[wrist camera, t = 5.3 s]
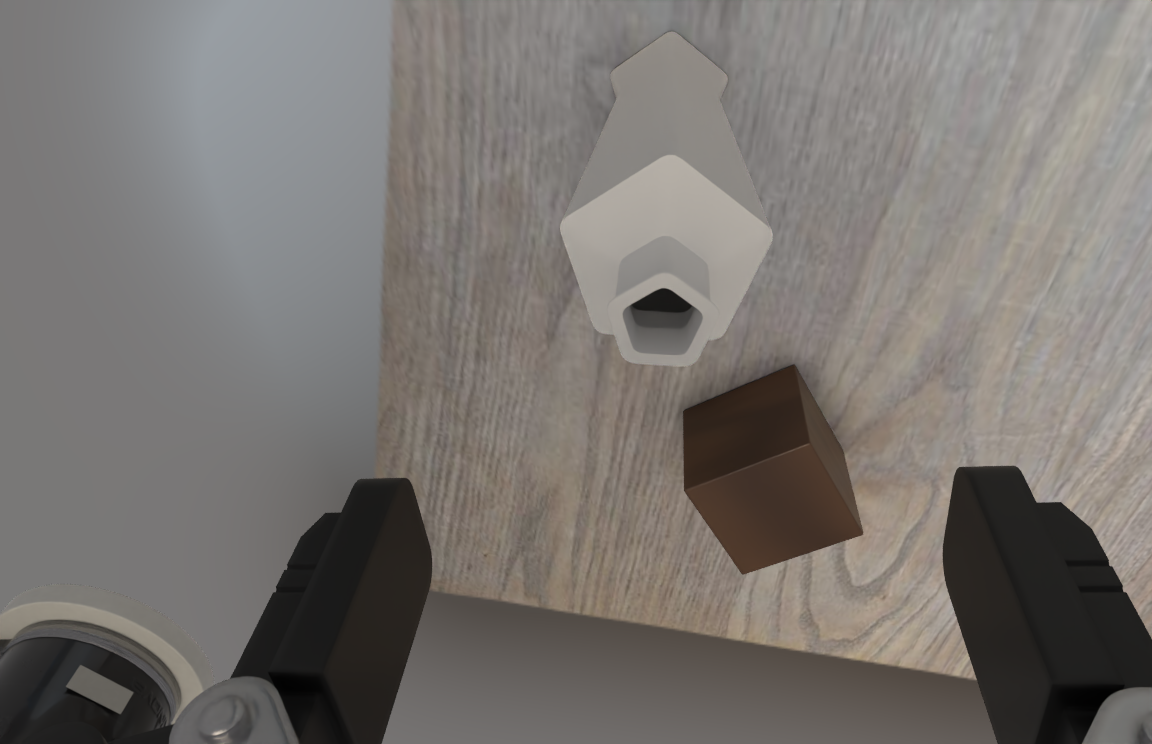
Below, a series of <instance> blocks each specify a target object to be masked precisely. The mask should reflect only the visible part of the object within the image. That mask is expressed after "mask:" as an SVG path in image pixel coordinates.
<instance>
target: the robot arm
mask: <svg viewBox="0 0 1152 744" xmlns="http://www.w3.org/2000/svg"><path fill="white" fill-rule="evenodd" d="M287 566H288V568H287V570H284V572H283V574H282V576H281V578H280V580H279V582H278V584H277V586H276V589H277V590H276V592H274V593H273V594H272V596H271V598H270V600H269V602H268V604H267V606H266V608H265V610H264V612H263V614H262V616H261V618H260V620H259V622H258V624H257V627H256V628H255V630H254V632H253V634H252V636H251V638H250V640H249V642H248V644H247V646H246V648H245V650H244V652H243V654H242V656H241V658H240V660H239V662H238V664H237V666H236V669H235V670H234V672H233V674H232V676H231V678H230V679H228V680H225V681H222V682H220V683H218V684H215V685H213V686H212V687H210V688H208V689H206V690H205V691H203V692H202V693H201V694H199V695H198V696H196V697H195V698H194V699H193V700H192V701H191V702H190V703H189V704H188V705H187V706H186V707H185V708H184V710H183V711H182V712H181V713H180V715H179V716H178V718H177V719H176V721H175V723H174V724H171V723H172V721H173V719H174V717H175V715H176V713H177V711H178V710H179V708H180V704H181V692H180V688H179V685H178V683H177V681H176V679H175V677H174V675H173V674H172V672H171V671H170V670H169V669H168V667H167V666H166V665H165V664H164V663H163V662H162V661H161V660H160V659H159V658H158V657H156V656H155V655H154V654H153V653H151V652H150V651H149V650H147V649H146V648H144V647H143V646H141V645H140V644H138V643H137V642H135V641H133V640H131V639H129V638H127V637H125V636H123V635H121V634H119V633H116V632H114V631H111V630H109V629H106V628H103V627H100V626H96V625H93V624H88V623H84V622H78V621H69V620H49V621H42V622H37V623H34V624H31V625H29V626H26V627H24V628H23V629H21V630H20V631H19V632H18V633H17V634H16V635H15V636H14V637H13V639H0V744H381V743H382V740H383V737H384V734H385V731H386V727H387V724H388V721H389V717H390V714H391V711H392V708H393V705H394V702H395V698H396V695H397V692H398V689H399V685H400V682H401V679H402V676H403V672H404V669H405V666H406V663H407V659H408V656H409V653H410V650H411V647H412V643H413V640H414V637H415V634H416V630H417V627H418V624H419V621H420V617H421V614H422V611H423V608H424V605H425V601H426V598H427V595H428V592H429V588H430V584H431V577H432V555H431V549H430V545H429V541H428V538H427V534H426V531H425V527H424V524H423V520H422V517H421V514H420V510H419V507H418V503H417V500H416V496H415V493H414V489H413V486H412V484H411V482H410V481H409V480H408V479H407V478H382V479H360V480H358V481H357V482H356V483H355V484H354V486H353V488H352V490H351V492H350V495H349V497H348V499H347V501H346V503H345V505H344V508H343V510H342V512H341V513H325V514H324V515H323V516H322V517H321V518H320V519H319V520H318V521H317V522H316V523H315V524H314V525H313V526H312V527H311V528H310V529H309V530H308V531H307V532H306V533H305V534H304V535H303V536H302V537H301V538H300V540H299V542H298V544H297V546H296V548H295V550H294V552H293V554H292V556H291V558H290V560H289V562H288V564H287ZM943 568H944V576H945V581H946V586H947V589H948V592H949V596H950V599H951V602H952V605H953V608H954V611H955V614H956V617H957V620H958V623H959V626H960V629H961V632H962V635H963V638H964V642H965V645H966V648H967V651H968V654H969V657H970V660H971V663H972V666H973V669H974V672H975V675H976V678H977V681H978V684H979V688H980V691H981V694H982V697H983V700H984V703H985V706H986V709H987V712H988V715H989V718H990V721H991V724H992V727H993V730H994V734H995V736H996V740H997V743H998V744H1152V639H1151V637H1150V635H1149V633H1148V631H1147V630H1146V628H1145V626H1144V624H1143V622H1142V620H1141V619H1140V617H1139V615H1138V613H1137V611H1136V609H1135V608H1134V606H1133V604H1132V602H1131V600H1130V598H1129V596H1128V595H1127V593H1126V592H1123V589H1122V587H1123V585H1122V584H1121V582H1120V580H1119V578H1118V576H1117V574H1116V573H1115V571H1114V569H1113V567H1112V566H1109V560H1108V558H1107V556H1106V554H1105V552H1104V550H1103V549H1102V547H1101V545H1100V543H1099V541H1098V539H1097V538H1096V536H1095V534H1094V532H1093V530H1092V529H1091V528H1090V527H1089V526H1088V525H1087V524H1085V523H1084V522H1083V521H1082V520H1081V519H1080V518H1078V517H1077V516H1076V515H1075V514H1074V513H1073V512H1071V511H1070V510H1069V509H1068V508H1067V507H1066V506H1065V505H1063V504H1062V503H1061V502H1049V503H1036V501H1035V499H1034V497H1033V495H1032V492H1031V490H1030V488H1029V486H1028V484H1027V482H1026V480H1025V478H1024V476H1023V474H1022V472H1021V471H1020V469H1019V468H1018V467H1016V466H983V467H959V468H958V469H957V470H956V473H955V476H954V481H953V487H952V493H951V499H950V505H949V512H948V518H947V524H946V530H945V536H944V543H943Z"/></svg>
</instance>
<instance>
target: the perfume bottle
mask: <svg viewBox="0 0 1152 744" xmlns="http://www.w3.org/2000/svg"><path fill="white" fill-rule="evenodd" d="M610 78H611V83H612V86H613V90H614V93H615V97H616V101H615V103H614V105H613V108H612V110H611V112H610V114H609V117H608V119H607V121H606V123H605V125H604V128H603V130H602V132H601V134H600V137H599V139H598V141H597V143H596V146H595V148H594V150H593V152H592V155H591V157H590V159H589V161H588V164H587V166H586V168H585V170H584V173H583V175H582V177H581V179H580V182H579V184H578V186H577V188H576V190H575V193H574V195H573V197H572V199H571V202H570V204H569V206H568V208H567V211H566V213H565V215H564V217H563V220H562V222H561V225H560V232H561V236H562V238H563V241H564V244H565V247H566V250H567V253H568V256H569V259H570V261H571V264H572V267H573V270H574V273H575V276H576V279H577V282H578V284H579V287H580V290H581V293H582V296H583V299H584V302H585V305H586V307H587V310H588V313H589V316H590V319H591V322H592V325H593V326H594V328H595V330H597V331H598V332H600V333H603V334H609V335H614V336H615V339H616V342H617V345H618V348H619V351H620V353H621V355H622V357H623V358H624V359H625V360H626V361H628V362H629V363H634V364H647V365H663V366H680V367H682V366H690V365H692V364H694V363H695V362H696V361H697V360H698V358H699V357H700V355H701V353H702V351H703V349H704V347H705V345H706V343H707V341H708V340H717V339H719V338H720V337H722V336H723V335H724V333H725V332H726V330H727V328H728V326H729V324H730V322H731V320H732V319H733V317H734V315H735V313H736V311H737V309H738V307H739V305H740V303H741V301H742V299H743V297H744V295H745V293H746V292H747V290H748V288H749V286H750V284H751V282H752V280H753V278H754V276H755V274H756V272H757V270H758V268H759V266H760V264H761V263H762V261H763V259H764V257H765V255H766V253H767V251H768V249H769V247H770V245H771V243H772V240H773V233H772V230H771V227H770V225H769V222H768V220H767V217H766V215H765V212H764V210H763V207H762V205H761V202H760V200H759V197H758V195H757V192H756V190H755V187H754V185H753V182H752V180H751V177H750V175H749V172H748V170H747V167H746V165H745V162H744V160H743V157H742V155H741V152H740V150H739V147H738V145H737V142H736V140H735V137H734V135H733V132H732V129H731V127H730V124H729V122H728V119H727V117H726V114H725V112H724V109H723V107H722V104H721V102H720V99H721V97H722V95H723V92H724V90H725V88H726V85H727V82H728V78H727V75H726V74H725V73H724V72H723V71H722V70H721V69H720V68H719V67H717V66H716V65H715V64H714V63H713V62H711V61H710V60H709V59H708V58H707V57H705V56H704V55H703V54H702V53H701V52H699V51H698V50H697V49H696V48H695V47H693V46H692V45H691V44H690V43H689V42H687V41H686V40H685V39H684V38H683V37H681V36H680V35H679V34H677V33H676V32H668V33H665V34H664V35H662V36H661V37H660V38H658V39H657V40H655V41H654V42H652V43H651V44H649V45H648V46H647V47H645V48H644V49H642V50H641V51H639V52H638V53H636V54H635V55H634V56H632V57H631V58H629V59H628V60H626V61H625V62H623V63H622V64H621V65H619V66H618V67H616V68H615V69H614V70H613V71H612V72H611V75H610Z"/></svg>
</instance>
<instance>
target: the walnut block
mask: <svg viewBox="0 0 1152 744" xmlns="http://www.w3.org/2000/svg"><path fill="white" fill-rule="evenodd" d="M683 440H684V491H685V493H686V494H687V496H688V497H689V499H690V500H691V501H692V503H693V504H694V506H695V507H696V509H697V510H698V511H699V513H700V514H701V516H702V517H703V519H704V520H705V522H706V523H707V524H708V526H709V527H710V529H711V530H712V532H713V533H714V534H715V536H716V537H717V539H718V540H719V542H720V543H721V544H722V546H723V547H724V549H725V550H726V552H727V553H728V555H729V556H730V557H731V559H732V560H733V562H734V563H735V565H736V566H737V567H738V569H739V570H740V572H741V573H742V574H746V573H749V572H752V571H755V570H758V569H761V568H764V567H767V566H770V565H773V564H776V563H780V562H783V561H786V560H789V559H792V558H795V557H798V556H801V555H804V554H807V553H810V552H813V551H816V550H819V549H822V548H825V547H828V546H831V545H834V544H837V543H840V542H843V541H846V540H849V539H852V538H855V537H858V536H861V535H863V529H862V525H861V521H860V517H859V513H858V509H857V505H856V501H855V497H854V493H853V489H852V485H851V481H850V477H849V473H848V469H847V465H846V461H845V457H844V452H843V450H842V448H841V446H840V444H839V443H838V441H837V439H836V437H835V435H834V434H833V432H832V430H831V428H830V427H829V425H828V423H827V421H826V419H825V418H824V416H823V414H822V412H821V411H820V409H819V407H818V405H817V403H816V402H815V400H814V398H813V396H812V395H811V393H810V391H809V389H808V387H807V386H806V384H805V382H804V380H803V378H802V377H801V375H800V373H799V371H798V370H797V368H796V366H795V365H792V366H790V367H788V368H785V369H783V370H780V371H778V372H776V373H773V374H771V375H768V376H766V377H764V378H761V379H759V380H756V381H754V382H752V383H749V384H747V385H744V386H742V387H740V388H737V389H735V390H733V391H730V392H728V393H725V394H723V395H721V396H718V397H716V398H713V399H711V400H709V401H706V402H704V403H701V404H699V405H697V406H694V407H692V408H689V409H687V410H685V411H683Z"/></svg>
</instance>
